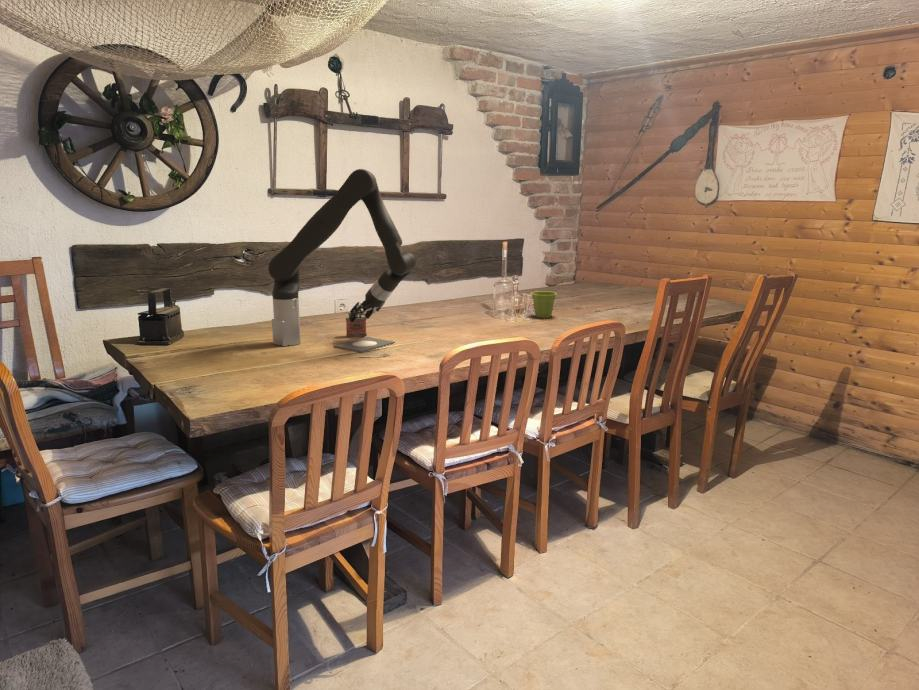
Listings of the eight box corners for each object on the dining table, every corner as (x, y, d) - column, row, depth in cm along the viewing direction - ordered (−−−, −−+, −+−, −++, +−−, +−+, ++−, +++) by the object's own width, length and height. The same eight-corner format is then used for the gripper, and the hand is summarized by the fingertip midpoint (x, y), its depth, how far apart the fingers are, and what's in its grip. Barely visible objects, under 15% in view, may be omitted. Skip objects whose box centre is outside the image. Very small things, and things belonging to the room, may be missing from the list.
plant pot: (542, 313, 298) (543, 290, 295) (561, 317, 289) (562, 293, 286) (524, 316, 290) (525, 292, 288) (543, 320, 282) (544, 295, 279)
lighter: (346, 337, 245) (345, 312, 243) (345, 335, 248) (345, 311, 246) (367, 336, 247) (366, 311, 245) (366, 334, 250) (365, 310, 248)
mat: (361, 352, 222) (361, 351, 222) (333, 347, 230) (333, 345, 230) (395, 343, 236) (394, 341, 236) (367, 338, 244) (367, 336, 244)
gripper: (386, 282, 242) (365, 308, 252) (361, 286, 231) (340, 313, 240) (397, 297, 241) (376, 323, 250) (372, 302, 229) (350, 329, 238)
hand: (358, 318), depth 245 cm, fingers open, 8 cm apart
